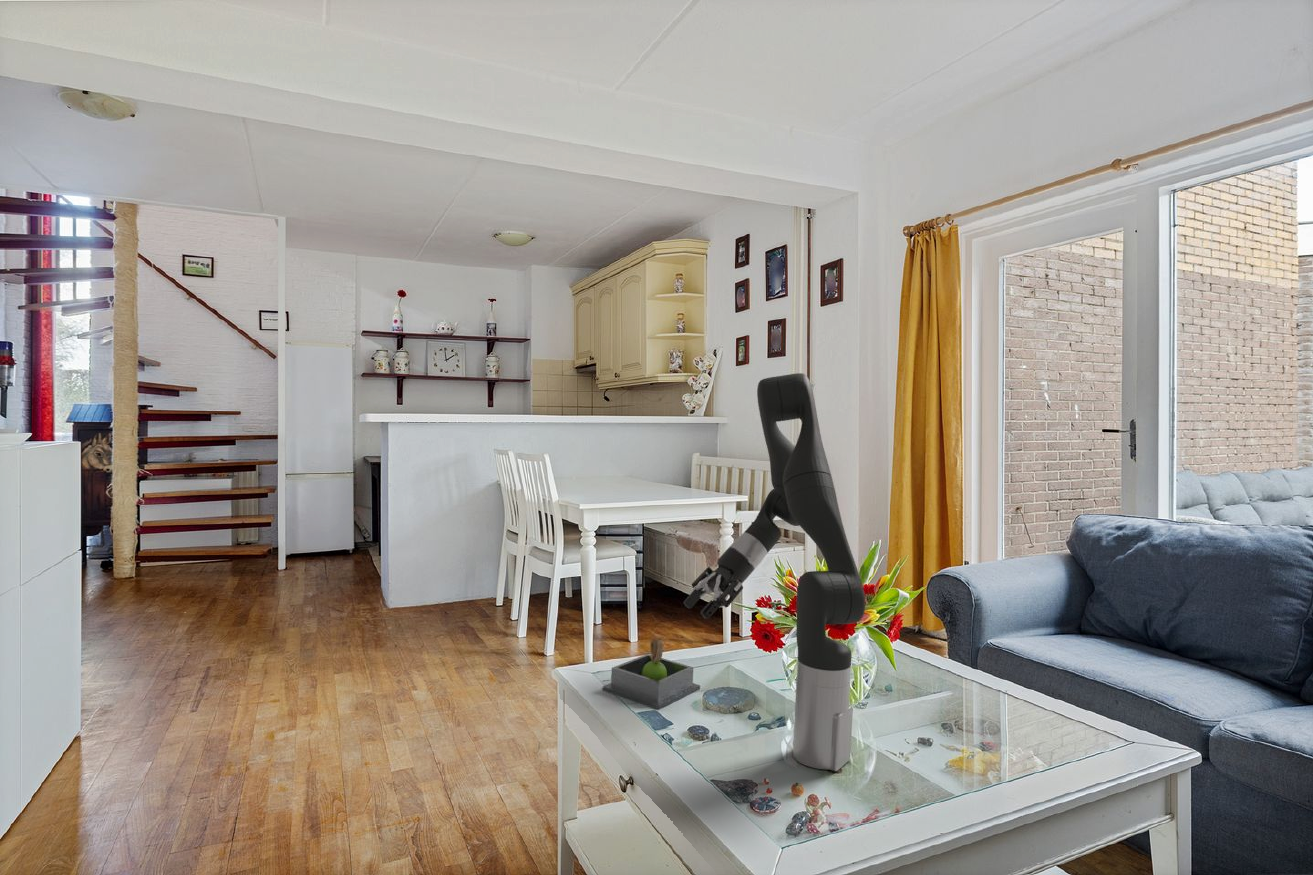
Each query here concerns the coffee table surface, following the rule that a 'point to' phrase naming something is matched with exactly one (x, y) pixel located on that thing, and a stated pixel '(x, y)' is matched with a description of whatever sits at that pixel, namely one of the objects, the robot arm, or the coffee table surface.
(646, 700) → the duct collar
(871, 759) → the coffee table surface
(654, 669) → the snail figurine
